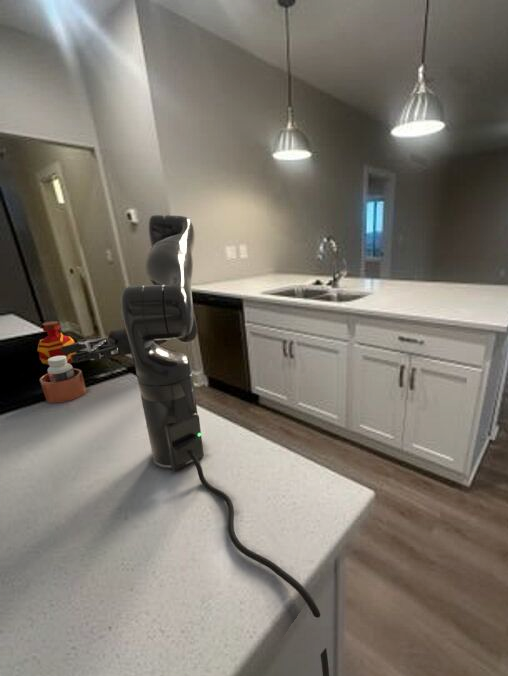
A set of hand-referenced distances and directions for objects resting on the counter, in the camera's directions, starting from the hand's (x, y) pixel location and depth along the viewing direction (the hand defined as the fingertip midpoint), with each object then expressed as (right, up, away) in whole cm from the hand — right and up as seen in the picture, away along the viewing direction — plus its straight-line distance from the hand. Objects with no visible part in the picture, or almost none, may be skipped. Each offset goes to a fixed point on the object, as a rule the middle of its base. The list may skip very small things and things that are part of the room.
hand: (66, 354), depth 89 cm
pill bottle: (-2, -10, +2) cm, 10 cm away
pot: (-2, -10, +2) cm, 11 cm away
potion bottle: (-13, -5, +17) cm, 22 cm away
